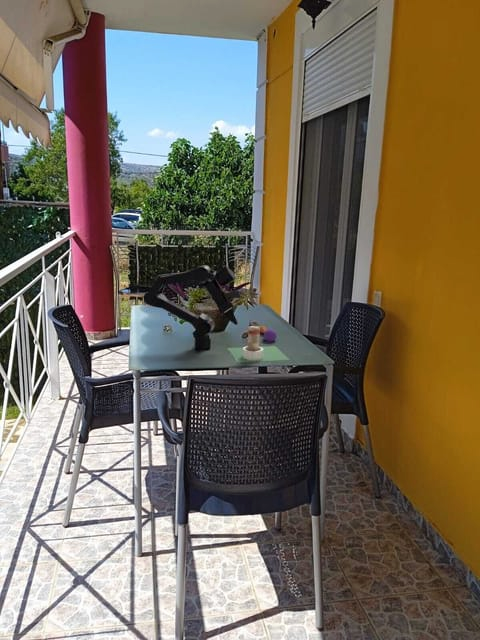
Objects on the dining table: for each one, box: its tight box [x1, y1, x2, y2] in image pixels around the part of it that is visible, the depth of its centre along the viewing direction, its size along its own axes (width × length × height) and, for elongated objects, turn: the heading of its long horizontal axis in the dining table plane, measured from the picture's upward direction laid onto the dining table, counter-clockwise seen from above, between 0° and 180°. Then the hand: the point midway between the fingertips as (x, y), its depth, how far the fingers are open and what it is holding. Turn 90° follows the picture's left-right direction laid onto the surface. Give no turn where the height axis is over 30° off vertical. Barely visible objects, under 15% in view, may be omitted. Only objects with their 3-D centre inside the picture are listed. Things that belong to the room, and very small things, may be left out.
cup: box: [242, 345, 264, 360], centre depth 192 cm, size 8×8×4 cm
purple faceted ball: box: [259, 325, 278, 343], centre depth 223 cm, size 6×6×20 cm
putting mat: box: [227, 345, 291, 363], centre depth 196 cm, size 22×19×1 cm
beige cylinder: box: [247, 325, 261, 351], centre depth 191 cm, size 4×4×12 cm
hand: (236, 323), depth 196 cm, fingers open, 9 cm apart
